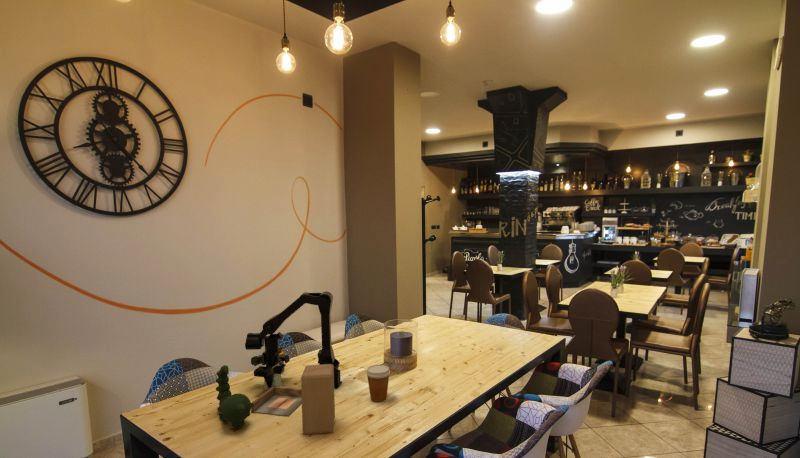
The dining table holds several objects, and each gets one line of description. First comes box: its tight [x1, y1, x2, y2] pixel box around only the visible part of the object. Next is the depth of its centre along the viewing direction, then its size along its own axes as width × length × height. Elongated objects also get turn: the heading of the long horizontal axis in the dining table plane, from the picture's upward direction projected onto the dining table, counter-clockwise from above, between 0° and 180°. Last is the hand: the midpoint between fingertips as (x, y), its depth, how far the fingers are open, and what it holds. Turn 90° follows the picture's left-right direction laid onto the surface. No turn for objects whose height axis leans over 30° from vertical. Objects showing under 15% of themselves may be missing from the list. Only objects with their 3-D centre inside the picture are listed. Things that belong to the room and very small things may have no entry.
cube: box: [263, 374, 283, 391], centre depth 168 cm, size 5×5×5 cm
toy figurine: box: [215, 365, 252, 430], centre depth 141 cm, size 9×19×25 cm
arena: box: [250, 386, 302, 417], centre depth 153 cm, size 15×15×4 cm
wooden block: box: [300, 364, 336, 435], centre depth 136 cm, size 10×10×20 cm
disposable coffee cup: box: [365, 364, 391, 403], centre depth 156 cm, size 10×10×12 cm
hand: (273, 385), depth 168 cm, fingers closed on cube, 5 cm apart
